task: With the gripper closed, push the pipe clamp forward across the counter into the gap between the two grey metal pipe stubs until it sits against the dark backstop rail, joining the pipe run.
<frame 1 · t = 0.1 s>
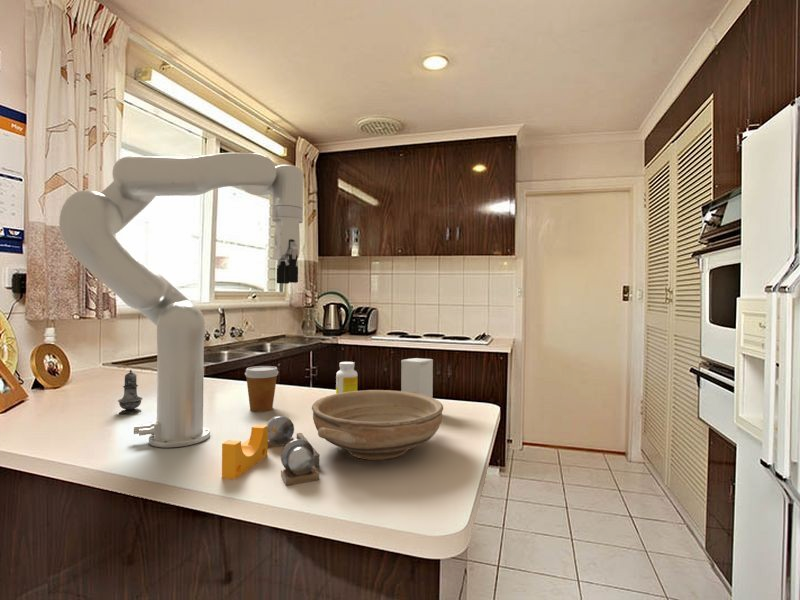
hand: (286, 282, 109), 37 cm above the countertop, tool pointing down, fingers open, 9 cm apart
disposable coffee cup: (261, 409, 126), on the countertop
ceramic bowl: (377, 449, 94), on the countertop
skincare box: (416, 413, 124), on the countertop
pipe clamp: (242, 467, 84), on the countertop
pipe run: (287, 458, 88), on the countertop
supplement bottle: (346, 404, 134), on the countertop
salt shaker: (130, 412, 121), on the countertop
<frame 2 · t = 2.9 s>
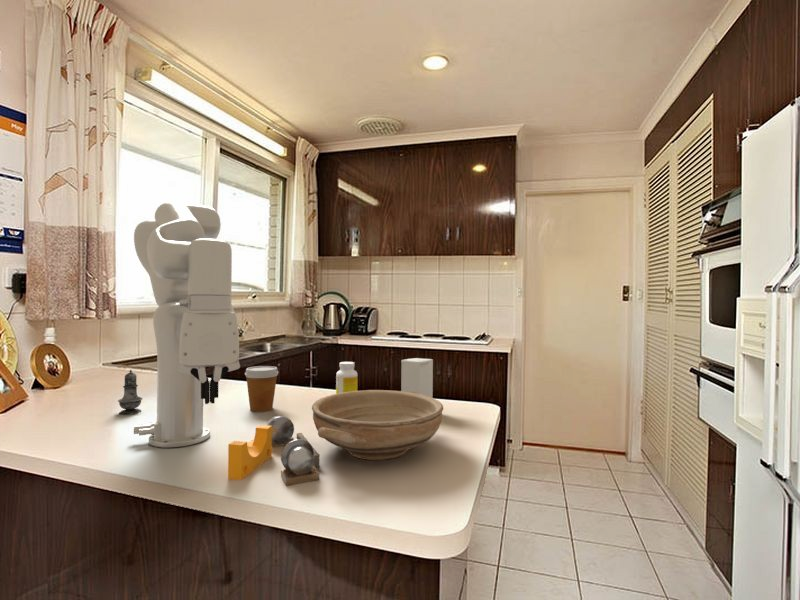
hand: (209, 402, 81), 13 cm above the countertop, tool pointing down, fingers closed
pipe clamp: (247, 468, 84), on the countertop
everything else where it was.
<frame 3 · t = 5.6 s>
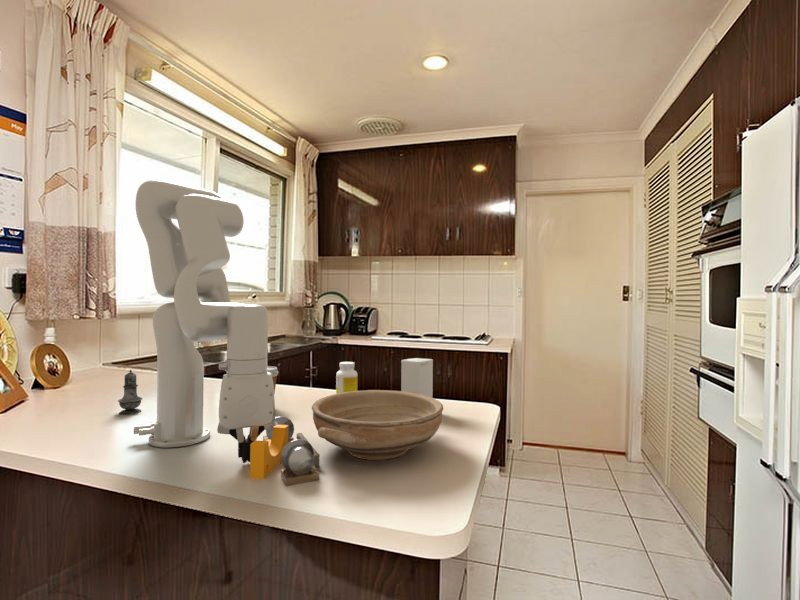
hand: (246, 459, 84), 1 cm above the countertop, tool pointing down, fingers closed
pipe clamp: (266, 467, 84), on the countertop
everything else where it was.
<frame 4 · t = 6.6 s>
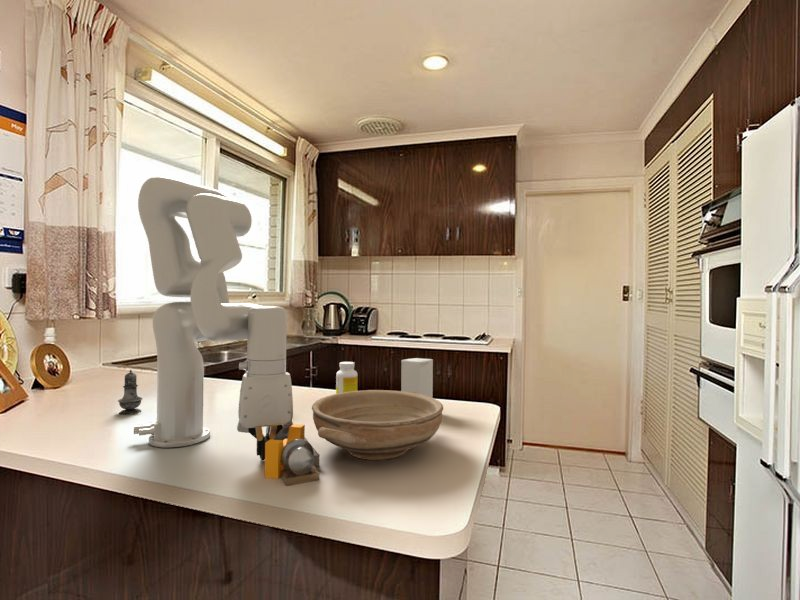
hand: (264, 457, 86), 1 cm above the countertop, tool pointing down, fingers closed
pipe clamp: (281, 466, 85), on the countertop, touching gripper, pipe run
everything else where it was.
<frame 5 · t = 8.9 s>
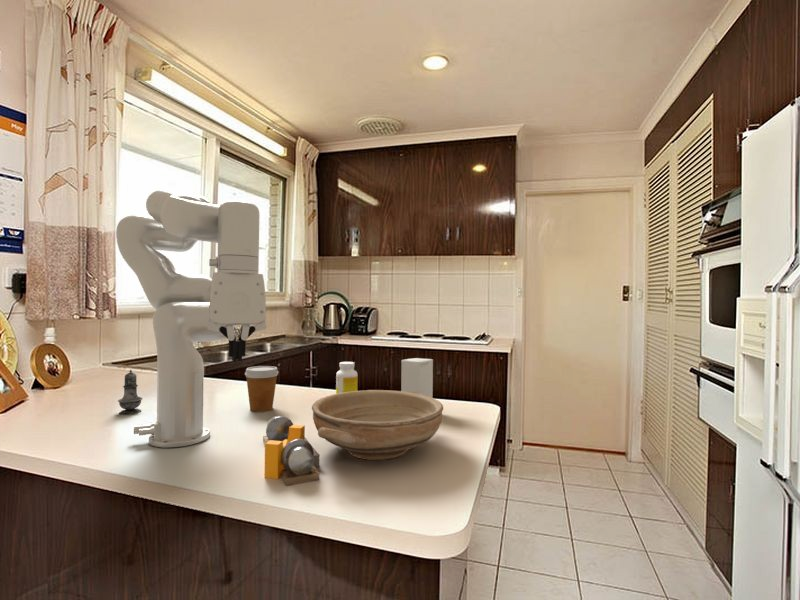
hand: (236, 360, 84), 21 cm above the countertop, tool pointing down, fingers closed
pipe clamp: (281, 467, 84), on the countertop
everything else where it was.
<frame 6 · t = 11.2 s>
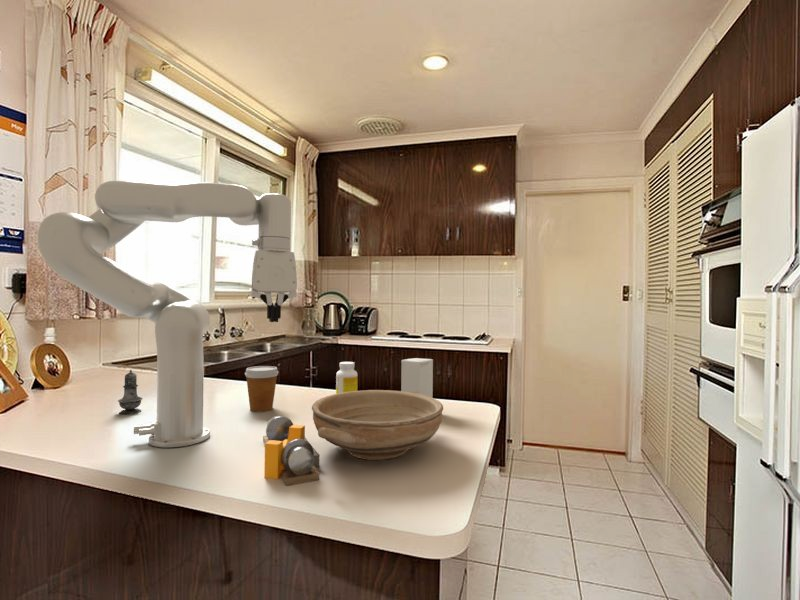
hand: (273, 321, 104), 27 cm above the countertop, tool pointing down, fingers closed
nothing on the countertop moved.
at the end: pipe clamp inside the target area on the pipe run (3.5 cm from its centre), point 0.0 cm above the pipe run's base; pipe clamp moved 7.8 cm from its start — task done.
